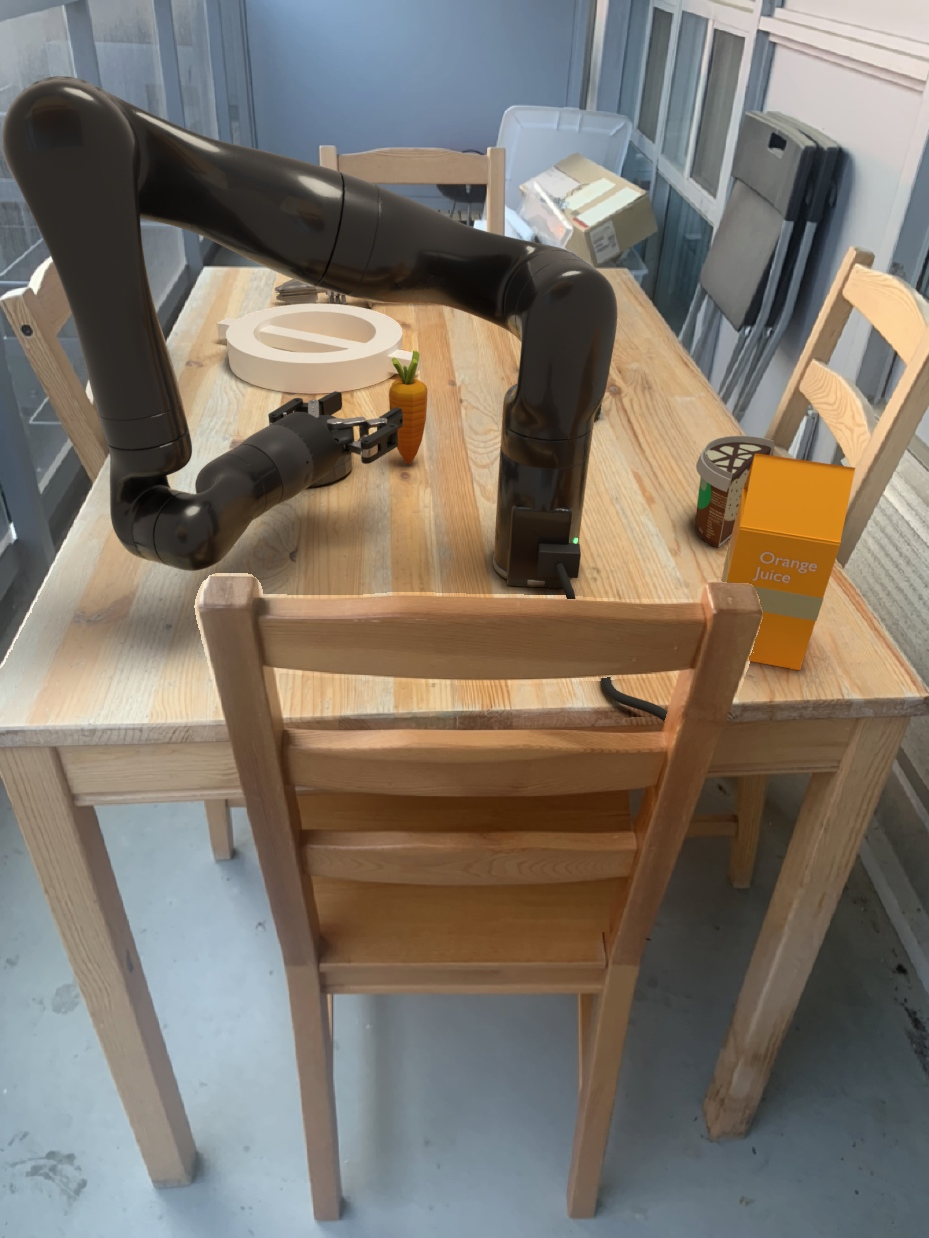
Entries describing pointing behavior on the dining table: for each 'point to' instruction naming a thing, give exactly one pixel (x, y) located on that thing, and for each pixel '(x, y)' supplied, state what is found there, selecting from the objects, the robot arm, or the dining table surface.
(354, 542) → the dining table surface
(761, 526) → the orange juice
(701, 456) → the food container
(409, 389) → the carrot
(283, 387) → the white circle with bar
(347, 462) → the pan
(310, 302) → the spaceship
